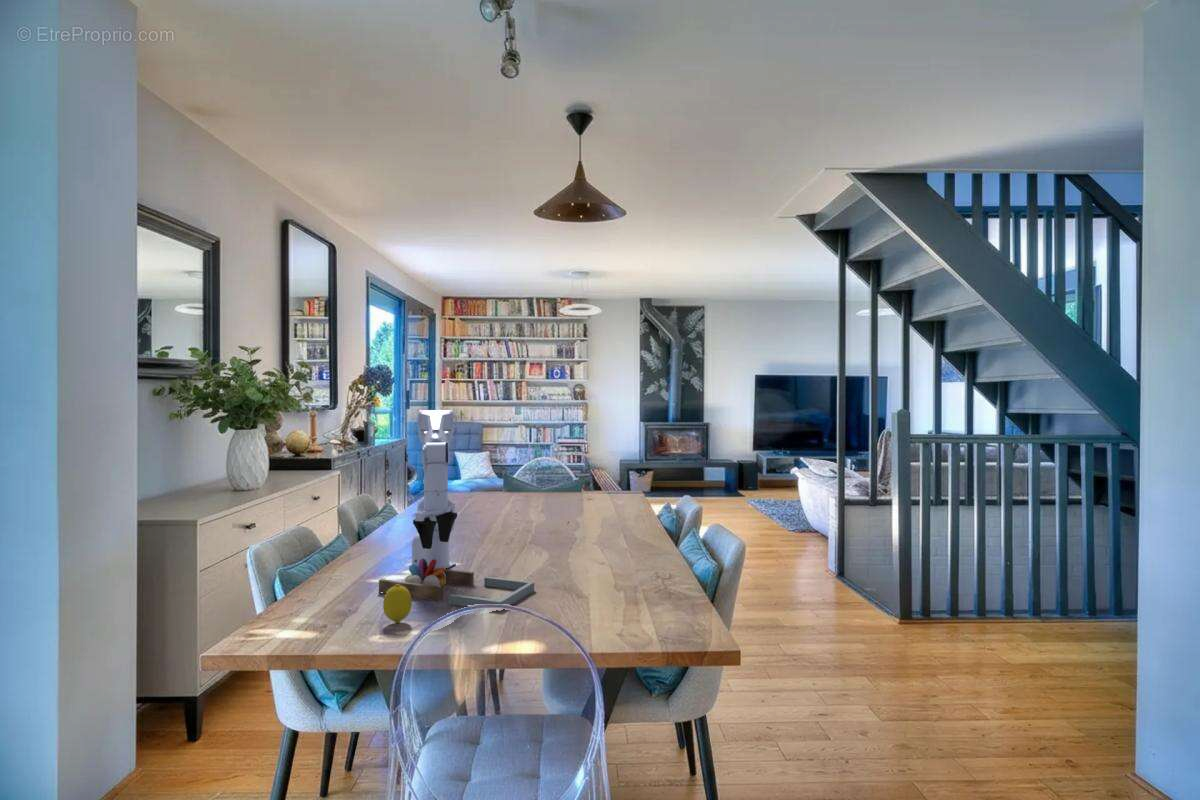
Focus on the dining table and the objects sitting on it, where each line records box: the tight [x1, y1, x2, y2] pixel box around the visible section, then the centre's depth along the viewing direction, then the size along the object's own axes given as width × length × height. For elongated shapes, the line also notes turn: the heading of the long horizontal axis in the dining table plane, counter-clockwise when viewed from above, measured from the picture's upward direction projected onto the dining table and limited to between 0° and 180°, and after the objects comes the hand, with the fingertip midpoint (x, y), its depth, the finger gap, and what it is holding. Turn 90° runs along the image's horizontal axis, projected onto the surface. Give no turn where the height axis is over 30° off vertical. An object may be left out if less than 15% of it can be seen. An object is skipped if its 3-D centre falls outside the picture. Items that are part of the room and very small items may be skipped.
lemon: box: [382, 584, 413, 624], centre depth 135 cm, size 6×6×8 cm
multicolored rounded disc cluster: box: [404, 558, 447, 587], centre depth 159 cm, size 8×10×7 cm
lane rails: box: [378, 568, 475, 602], centre depth 158 cm, size 17×14×3 cm
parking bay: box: [448, 576, 535, 607], centre depth 152 cm, size 13×16×2 cm
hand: (435, 544), depth 165 cm, fingers open, 7 cm apart
